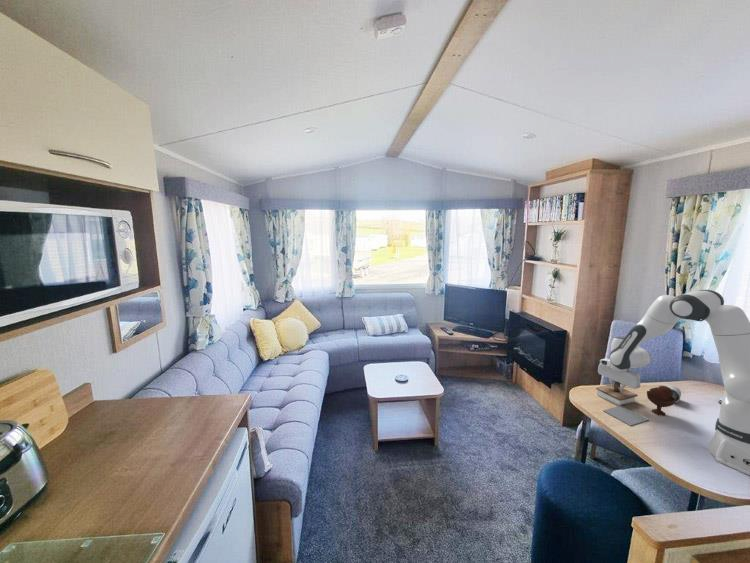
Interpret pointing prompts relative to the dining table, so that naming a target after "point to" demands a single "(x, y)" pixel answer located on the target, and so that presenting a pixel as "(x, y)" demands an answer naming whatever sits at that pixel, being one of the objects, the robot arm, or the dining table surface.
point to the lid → (617, 392)
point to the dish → (615, 399)
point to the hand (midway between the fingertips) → (616, 388)
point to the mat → (626, 415)
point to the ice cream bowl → (661, 398)
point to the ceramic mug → (675, 392)
